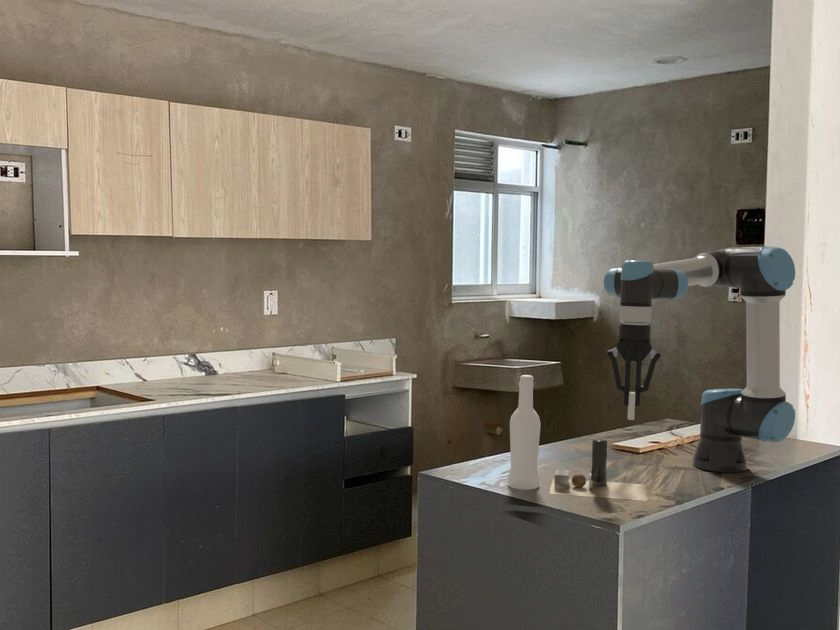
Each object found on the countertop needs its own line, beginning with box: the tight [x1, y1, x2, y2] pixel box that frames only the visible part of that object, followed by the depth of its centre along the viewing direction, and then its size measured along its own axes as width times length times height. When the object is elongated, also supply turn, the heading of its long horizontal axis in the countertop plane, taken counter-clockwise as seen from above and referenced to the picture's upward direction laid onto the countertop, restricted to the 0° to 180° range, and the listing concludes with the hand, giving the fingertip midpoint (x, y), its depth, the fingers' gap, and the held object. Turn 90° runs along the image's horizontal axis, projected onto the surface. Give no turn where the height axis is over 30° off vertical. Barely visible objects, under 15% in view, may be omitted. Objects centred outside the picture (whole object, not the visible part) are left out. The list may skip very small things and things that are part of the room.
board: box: [548, 468, 649, 502], centre depth 220 cm, size 24×16×5 cm, turn 78°
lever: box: [588, 438, 608, 488], centre depth 219 cm, size 4×15×14 cm, turn 168°
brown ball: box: [571, 473, 587, 488], centre depth 221 cm, size 4×4×4 cm
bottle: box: [507, 374, 542, 491], centre depth 221 cm, size 8×8×30 cm
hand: (630, 418), depth 211 cm, fingers closed
